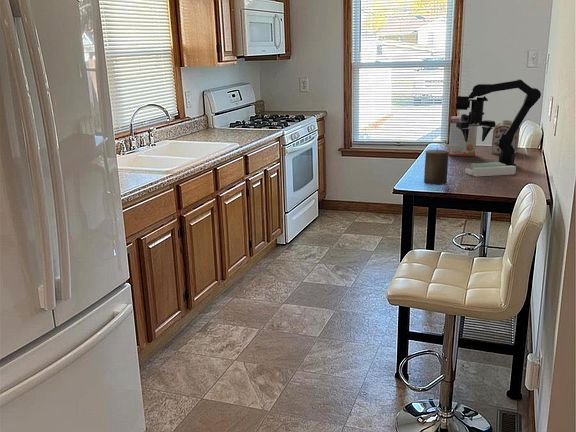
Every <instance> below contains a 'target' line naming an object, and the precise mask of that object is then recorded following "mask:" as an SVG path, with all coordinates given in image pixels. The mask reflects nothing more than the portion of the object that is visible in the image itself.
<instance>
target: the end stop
mask: <svg viewBox="0 0 576 432" xmlns="http://www.w3.org/2000/svg"><path fill="white" fill-rule="evenodd" d="M516 169H517V166H516V165H511V166H495V167H477V168H473V170H471V168H466V167H465V169H464V173H465V174H467V175H470V176H474V177H477V178H478V177H489V176H490V177H492V176H508V175H516Z"/></svg>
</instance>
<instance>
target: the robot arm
mask: <svg viewBox="0 0 576 432" xmlns="http://www.w3.org/2000/svg"><path fill="white" fill-rule="evenodd" d="M513 89H514V90H515V89H519V90H520V91H522V92H523V93H524V94H526V95H525V97H524V100H523V104H522V105H521V106H520V109H519V110H518V112H517V113H516V115H515V116H514V119H513V120H512V124H511V125H510V127H509V129H508V130H507V131H506V132H505V133H503V132H502V133H501V136H500V137H499V138H498V146H499V148H500V149H501V150H502V151H503V152H500V154H498V155H499V157H498V162H500V163H503V164H506V166H516V163H515V159H516V156H515V155H516V153H515V152H514V151H515V149H514V147H513V146H512V145H511V144H512V141H513V138H514V135H515V133H516V131H517V130H518V128H519V127H520V126H521V124H522V123H523V121H524V120H525V117H526V116H527V114H528V113H529V111H530V110H531V108H532V107H533V106H534V105H536V103H537V102H538V100H540V98H541V97H542V94H541V91H540V89H539V88H536V87H531V86H530V85H529V84H527V83H526V82H524V80H523V79H519V78H518V79H516V80H510V81H504V82H498V83H477V84H475V85H474V86H473V87H472V91H471V92H470V93H469V94H468V95H467V96H466V95H464V96H462V95H456V102H455V111H457V110H458V111H459V110H460V111H468V109H469V108H470V111H469V112H468V114H466V113H465V114H463V113H462V114H461V115H460V116H461V121H458V122H457V123H456V127H458V128H459V129H461V131H462V133H463V136H464V139H465V142H467V140H468V134H469V129H468V127H469V126H477V127H481V130H482V135H481V142H485V140H486V138H487V136H488V135H489V133H490V132H491V130H493V129H494V127H495V125H496V124H497V123H496V121H495V120H490V119H489V120H488V119H487V120H483V117H484V115H485V112H484V105H485V103H484V102H488V101H489V99H488V98H487V94H491V93H493V92H501V91H509V90H513ZM474 123H475V124H474Z"/></svg>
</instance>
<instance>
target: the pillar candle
mask: <svg viewBox="0 0 576 432" xmlns="http://www.w3.org/2000/svg"><path fill="white" fill-rule="evenodd" d="M449 156H450V155H449V150H444V149H439V148H438V147H437V148H436V149H428V150H425V156H424V157H425V161H424V174H423V175H424V177H423V183H425V184H429V185H436V186H437V185H439V186H440V185H445V184H447V183H448V168H449V167H448V166H449Z"/></svg>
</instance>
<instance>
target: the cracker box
mask: <svg viewBox="0 0 576 432" xmlns="http://www.w3.org/2000/svg"><path fill="white" fill-rule="evenodd" d="M458 121H461V115H460V116H458V115H457V116H456V115H455V116H454V115H453V116H451V117H450V122H449V123H450V127H449V138H448V139H449V140H448V152H449V155H448V156H450V157H451V156H454V157H455V156H456V157H458V156H459V157H475V156H476V151H477V150H476V148H477V134H478V133H477V132H478V126H469V127H468V129H469V134H468V140H467V142H465V139H464V136H463V133H462V131H461V129H459V128H458V127H456V123H457V122H458ZM474 124H475V123H474Z"/></svg>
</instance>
